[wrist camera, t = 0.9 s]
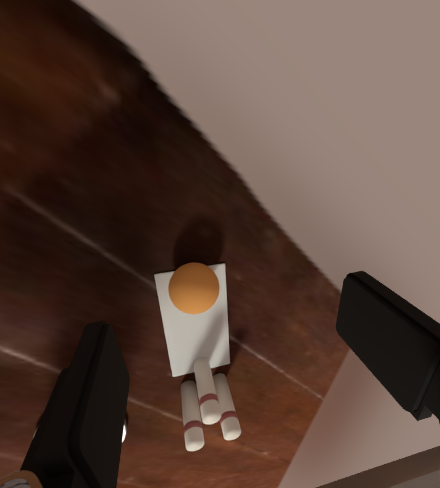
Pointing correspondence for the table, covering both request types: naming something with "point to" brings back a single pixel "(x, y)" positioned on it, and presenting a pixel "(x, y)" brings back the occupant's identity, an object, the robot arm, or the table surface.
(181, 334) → the lane mark
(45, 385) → the table surface
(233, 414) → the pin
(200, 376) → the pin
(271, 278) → the table surface
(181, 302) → the ball
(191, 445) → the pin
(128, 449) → the table surface
